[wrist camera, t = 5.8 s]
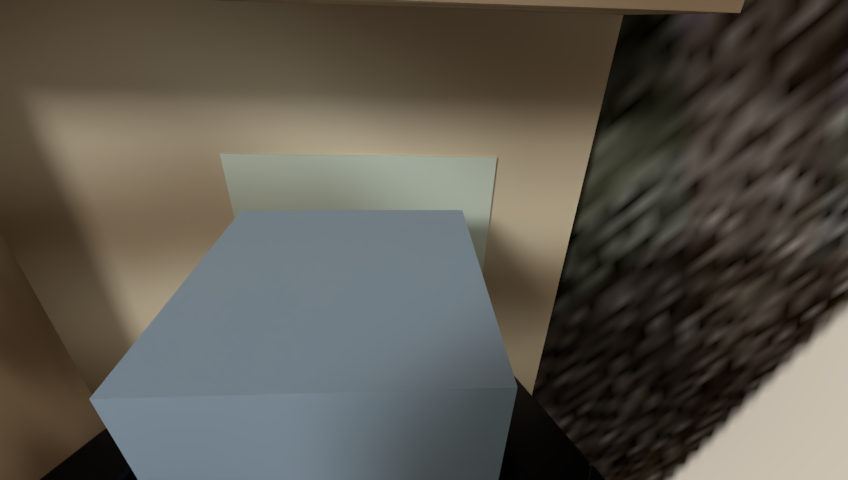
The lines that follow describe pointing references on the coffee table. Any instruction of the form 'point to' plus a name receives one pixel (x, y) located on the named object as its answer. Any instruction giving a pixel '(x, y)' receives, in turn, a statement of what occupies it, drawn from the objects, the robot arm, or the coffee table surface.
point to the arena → (271, 159)
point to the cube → (320, 356)
